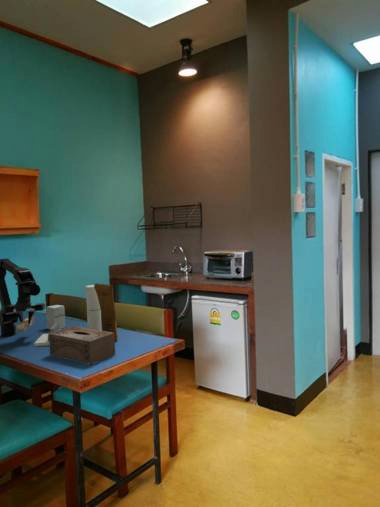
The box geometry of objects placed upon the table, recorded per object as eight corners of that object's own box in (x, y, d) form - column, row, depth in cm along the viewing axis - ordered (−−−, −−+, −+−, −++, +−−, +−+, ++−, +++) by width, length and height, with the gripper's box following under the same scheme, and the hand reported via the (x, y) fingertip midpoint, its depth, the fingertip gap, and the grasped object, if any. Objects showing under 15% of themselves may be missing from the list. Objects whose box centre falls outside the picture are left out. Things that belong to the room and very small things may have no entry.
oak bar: (23, 331, 193) (23, 325, 193) (17, 331, 193) (16, 325, 193) (34, 322, 211) (33, 316, 211) (28, 322, 211) (28, 317, 211)
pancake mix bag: (109, 344, 191) (106, 286, 189) (95, 335, 207) (92, 282, 205) (122, 341, 195) (119, 285, 193) (107, 333, 211) (105, 280, 209)
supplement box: (54, 330, 219) (53, 308, 218) (46, 328, 224) (45, 306, 223) (65, 327, 225) (64, 305, 224) (58, 325, 230) (56, 304, 229)
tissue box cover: (50, 355, 178) (48, 333, 177) (75, 346, 190) (74, 326, 189) (91, 365, 164) (89, 341, 163) (115, 354, 176) (114, 332, 175)
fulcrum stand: (34, 346, 191) (33, 330, 191) (43, 336, 207) (42, 322, 207) (68, 344, 193) (67, 329, 193) (74, 335, 209) (73, 321, 208)
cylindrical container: (98, 334, 210) (95, 287, 208) (85, 333, 211) (83, 287, 209) (103, 330, 217) (101, 285, 215) (91, 330, 218) (89, 284, 216)
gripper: (-2, 297, 192) (1, 329, 193) (38, 296, 194) (40, 327, 195) (7, 293, 203) (8, 324, 204) (44, 292, 205) (46, 322, 206)
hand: (25, 324), depth 202 cm, fingers closed on oak bar, 3 cm apart
